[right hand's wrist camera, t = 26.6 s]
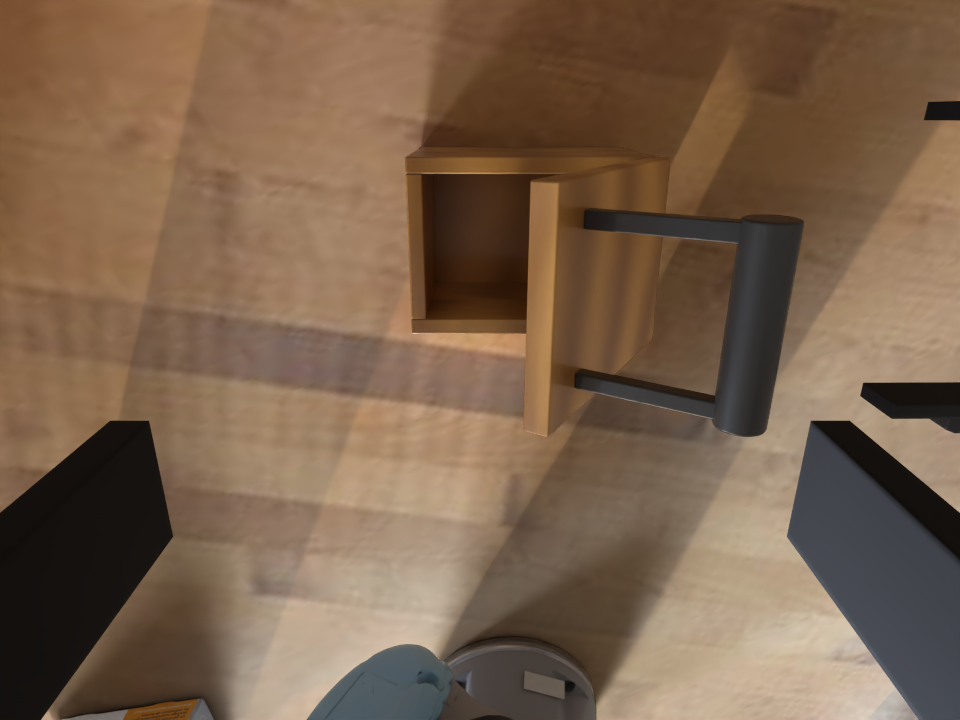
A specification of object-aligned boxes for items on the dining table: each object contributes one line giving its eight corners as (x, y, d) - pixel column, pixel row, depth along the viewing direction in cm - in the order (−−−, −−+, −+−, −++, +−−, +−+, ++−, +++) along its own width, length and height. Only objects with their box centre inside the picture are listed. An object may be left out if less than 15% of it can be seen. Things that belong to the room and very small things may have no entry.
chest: (424, 291, 44) (411, 334, 36) (420, 147, 41) (404, 156, 32) (609, 291, 44) (640, 334, 36) (620, 147, 41) (657, 156, 32)
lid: (522, 431, 25) (748, 492, 21) (529, 179, 22) (801, 195, 18) (632, 335, 36) (796, 364, 32) (649, 157, 32) (835, 164, 28)
